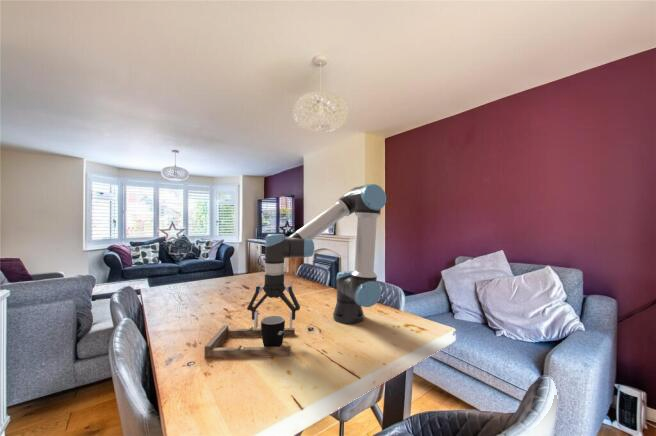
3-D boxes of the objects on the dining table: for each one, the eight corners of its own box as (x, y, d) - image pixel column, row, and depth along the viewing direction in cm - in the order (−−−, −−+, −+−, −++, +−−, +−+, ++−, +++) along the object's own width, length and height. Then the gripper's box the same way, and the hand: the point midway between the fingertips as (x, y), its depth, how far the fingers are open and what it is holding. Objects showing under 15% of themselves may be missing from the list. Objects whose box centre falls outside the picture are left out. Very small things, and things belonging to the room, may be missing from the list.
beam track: (294, 333, 115) (294, 324, 115) (289, 356, 95) (289, 344, 96) (223, 334, 114) (223, 325, 114) (204, 357, 94) (204, 346, 94)
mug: (279, 352, 98) (279, 325, 98) (256, 350, 100) (256, 323, 100) (290, 338, 110) (290, 314, 110) (270, 336, 112) (270, 312, 112)
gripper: (306, 271, 109) (306, 324, 109) (245, 271, 108) (244, 324, 108) (305, 275, 102) (305, 331, 101) (239, 275, 101) (238, 331, 101)
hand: (273, 328), depth 105 cm, fingers open, 13 cm apart
